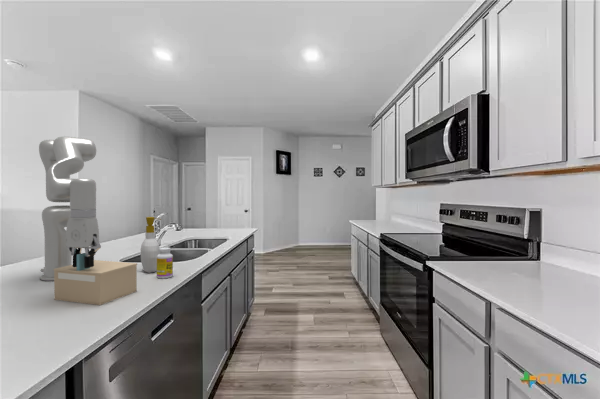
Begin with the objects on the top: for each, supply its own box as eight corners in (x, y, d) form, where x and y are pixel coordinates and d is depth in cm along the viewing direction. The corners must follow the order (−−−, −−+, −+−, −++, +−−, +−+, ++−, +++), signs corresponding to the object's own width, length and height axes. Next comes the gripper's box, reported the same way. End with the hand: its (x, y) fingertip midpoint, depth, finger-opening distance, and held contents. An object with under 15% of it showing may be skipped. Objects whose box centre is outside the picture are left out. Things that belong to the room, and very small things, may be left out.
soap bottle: (164, 272, 151) (164, 217, 151) (143, 275, 146) (143, 218, 146) (158, 266, 163) (158, 215, 163) (138, 269, 158) (138, 216, 158)
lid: (53, 270, 112) (53, 253, 112) (94, 261, 127) (94, 246, 127) (100, 274, 106) (100, 256, 106) (137, 264, 122) (137, 248, 122)
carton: (53, 299, 112) (53, 271, 112) (94, 286, 127) (94, 261, 127) (99, 305, 106) (99, 275, 106) (136, 291, 122) (136, 265, 122)
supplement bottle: (166, 279, 139) (166, 249, 139) (153, 278, 141) (153, 249, 140) (175, 275, 146) (175, 247, 146) (162, 274, 147) (162, 246, 147)
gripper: (53, 214, 110) (54, 267, 110) (92, 215, 105) (93, 271, 106) (74, 213, 117) (74, 263, 117) (111, 214, 113) (111, 266, 113)
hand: (83, 266), depth 111 cm, fingers open, 4 cm apart
